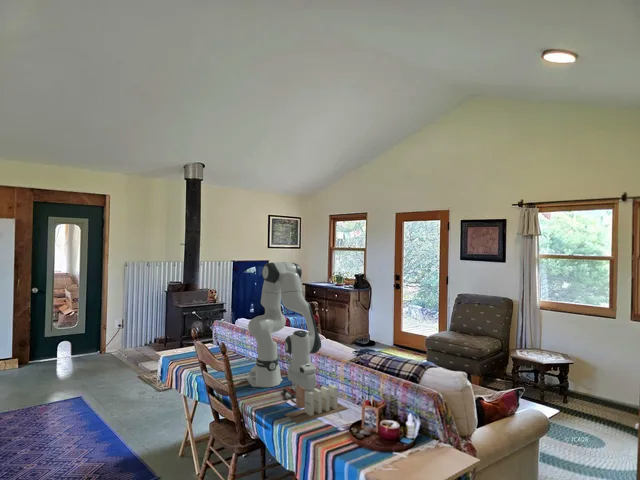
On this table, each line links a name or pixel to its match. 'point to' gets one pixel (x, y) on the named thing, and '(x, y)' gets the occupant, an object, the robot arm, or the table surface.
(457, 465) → the table surface
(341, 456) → the table surface
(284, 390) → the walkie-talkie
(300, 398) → the domino
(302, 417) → the board
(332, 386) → the domino
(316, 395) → the domino
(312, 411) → the domino
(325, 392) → the domino
